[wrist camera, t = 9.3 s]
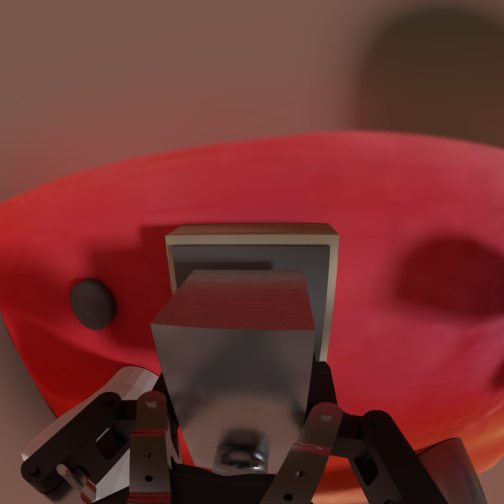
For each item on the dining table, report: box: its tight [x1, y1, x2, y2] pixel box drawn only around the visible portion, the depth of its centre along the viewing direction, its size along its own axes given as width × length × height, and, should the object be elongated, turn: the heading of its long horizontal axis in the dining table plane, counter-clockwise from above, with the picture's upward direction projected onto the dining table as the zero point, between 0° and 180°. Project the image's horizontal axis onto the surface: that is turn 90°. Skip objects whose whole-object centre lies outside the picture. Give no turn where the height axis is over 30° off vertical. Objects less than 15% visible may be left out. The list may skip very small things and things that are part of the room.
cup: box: [21, 366, 159, 502], centre depth 16 cm, size 10×10×14 cm
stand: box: [165, 223, 339, 362], centre depth 17 cm, size 12×9×3 cm
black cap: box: [70, 278, 117, 330], centre depth 19 cm, size 4×4×2 cm
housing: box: [150, 270, 316, 476], centre depth 11 cm, size 9×5×6 cm, turn 2°
